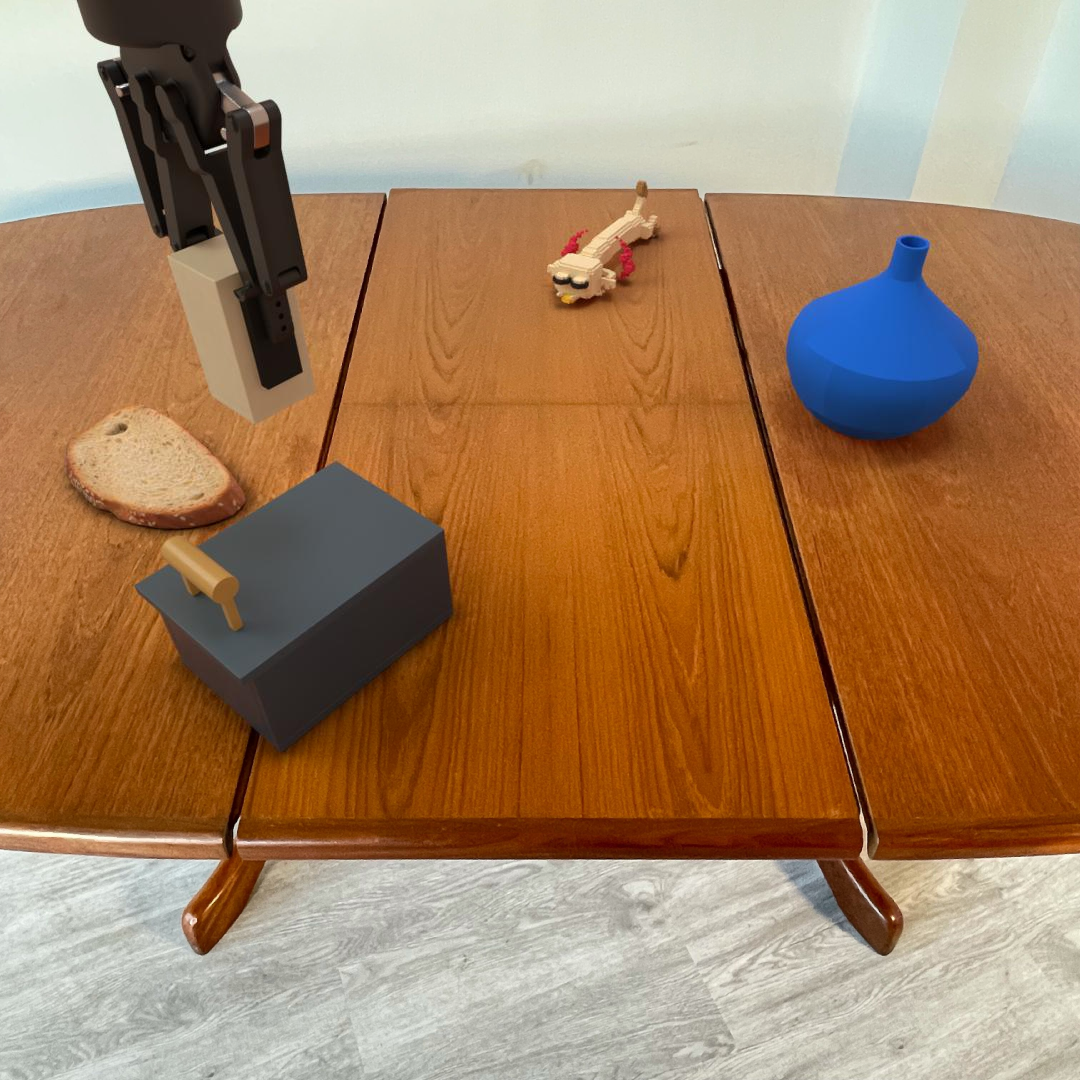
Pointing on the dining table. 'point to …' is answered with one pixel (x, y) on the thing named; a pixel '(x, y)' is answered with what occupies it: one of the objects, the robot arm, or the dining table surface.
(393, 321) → the dining table surface
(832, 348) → the vase
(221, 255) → the block
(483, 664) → the dining table surface
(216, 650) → the chest lid
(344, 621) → the chest
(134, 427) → the bread slice
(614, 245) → the cream long figure
